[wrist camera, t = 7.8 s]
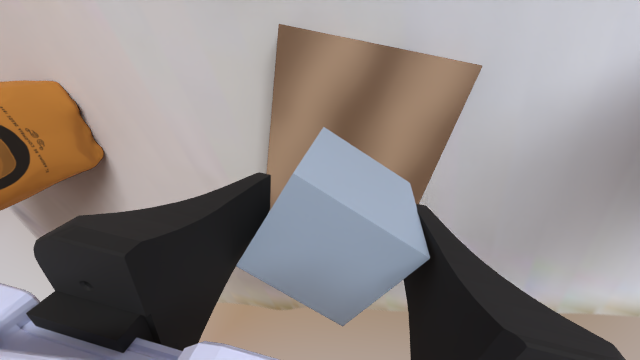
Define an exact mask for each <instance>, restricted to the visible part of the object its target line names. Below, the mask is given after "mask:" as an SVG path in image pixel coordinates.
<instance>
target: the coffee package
mask: <svg viewBox="0 0 640 360" xmlns="http://www.w3.org/2000/svg"><path fill="white" fill-rule="evenodd" d="M103 154H104V153H103V150H102V148H101V147H100V146H99V145H98V144H97V143H96V142H95V140H94V139H93V136H92V134H91V130H90V128H89V127H88V126H87V124H86V123H85V122H84V120H83V119H82V118H81V116H80V113H79V109H78V107H77V104H76V103H75V101H74V100H72V99H71V98H70V97H69V95H68V93H67V92H66V91H65V90H64V89H63V88H62V86H61V85H60V84H58V83H57V82H53V81H9V82H0V210H3V209H5V208H7V207H10V206H12V205H14V204H16V203H18V202H20V201H22V200H25V199H27V198H29V197H31V196H33V195H35V194H36V193H38V192H40V191H42V190H44V189H46V188H48V187H50V186H52V185H54V184H56V183H58V182H60V181H62V180H65V179H67V178H69V177H71V176H74V175H76V174H79V173H81V172H84V171H87V170H89V169H92V168H93V167H95V166H96V165H97V164H98V163H99V161H100V160H101V159H102V158H103Z"/></svg>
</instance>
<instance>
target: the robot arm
mask: <svg viewBox="0 0 640 360" xmlns="http://www.w3.org/2000/svg"><path fill="white" fill-rule="evenodd" d="M270 194H271V175H269V174H264V173H256V174H253V175H251V176H249V177H246V178H244V179H242V180H239V181H237V182H235V183H232V184H230V185H228V186H225V187H223V188H220V189H217V190H215V191H212V192H209V193H207V194H204V195H201V196H198V197H194V198H191V199H187V200H184V201H180V202H176V203H171V204H167V205H162V206H157V207H152V208H146V209H140V210H133V211H126V212H118V213H107V214H96V215H83V216H78V217H76V218H74V219H72V220H71V221H69V222H67V223H65V224H63V225H62V226H60V227H58V228H56V229H55V230H53V231H51V232H49V233H47V234H46V235H44V236H42V237H40V238H39V239H38V240H36V243H35V245H34V255H35V258H36V260H37V262H38V264H39V265H40V267H41V269H42V270H43V272H44V273H45V275H46V277H47V278H48V280H49V282H50V283H51V285H52V286H53V288H54V289H55V292H53V293H52V294H51V295H49V296H48V297H47V298H45V299H44V300H43V301H41V302H40V301H39V300H38V299H37V298H36V297H35V296H34V295H33V294H31V293H30V292H28V291H25V290H22V289H19V288H16V287H12V286H8V285H5V284H2V283H0V360H279V359H276V358H272V357H269V356H265V355H262V354H258V353H254V352H251V351H248V350H244V349H241V348H237V347H234V346H230V345H227V344H222V343H215V342H207V341H203V342H201V343H198V342H199V340H200V337H201V335H202V333H203V331H204V329H205V326H206V324H207V322H208V320H209V318H210V316H211V313H212V311H213V309H214V307H215V305H216V303H217V301H218V299H219V297H220V295H221V293H222V291H223V289H224V287H225V285H226V283H227V281H228V279H229V278H230V276H231V274H232V272H233V270H234V268H235V267H236V265H237V263H238V262H239V260H240V259H241V257H242V256H243V254H244V252H245V251H246V249H247V247H248V246H249V244H250V243H251V241H252V239H253V238H254V236H255V234H256V233H257V231H258V229H259V228H260V226H261V225H262V223H263V221H264V220H265V218H266V216H267V215H268V213H269V211H270ZM416 207H417V212H418V215H419V218H420V222H421V226H422V229H423V233H424V237H425V240H426V244H427V248H428V252H429V255H430V259H429V260H428V261H426V262H425V263H424V264H422V265H421V266H420V267H419V268H417V269H416V270H415V271H413V272H412V273H411V274H410V275H408V276H407V277H406V278H404V285H405V291H406V297H407V303H408V312H409V328H410V349H411V350H410V351H411V360H625V358H624V357H623V356H622V355H621V353H620V352H619V351H618V350H617V348H616V347H615V346H614V345H613V344H611V343H610V342H608V341H606V340H604V339H603V338H601V337H599V336H597V335H595V334H593V333H591V332H590V331H588V330H586V329H584V328H583V327H581V326H579V325H577V324H575V323H573V322H572V321H570V320H568V319H566V318H565V317H563V316H561V315H560V314H558V313H556V312H555V311H553V310H551V309H550V308H548V307H547V306H545V305H543V304H542V303H540V302H538V301H537V300H535V299H534V298H532V297H531V296H529V295H528V294H526V293H525V292H523V291H522V290H520V289H519V288H517V287H516V286H515V285H513V284H512V283H510V282H509V281H507V280H506V279H505V278H503V277H502V276H501V275H499V274H498V273H497V272H495V271H494V270H493V269H492V268H490V267H489V266H488V265H487V264H485V263H484V262H483V261H482V260H480V259H479V258H478V257H477V256H476V255H475V254H473V253H472V252H471V251H470V250H469V249H468V248H467V247H466V246H465V245H464V244H463V243H462V242H461V241H459V240H458V239H457V238H456V237H455V236H454V235H453V234H452V233H451V231H450V230H449V229H448V228H447V227H446V226H445V225H444V224H443V223H442V222H441V221H440V220H439V219H438V218H437V217H436V216H435V215H434V213H433V212H432V211H431V210H430V209H429V208H428V207H427V206H424V205H419V204H416Z"/></svg>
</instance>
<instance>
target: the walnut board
mask: <svg viewBox="0 0 640 360" xmlns="http://www.w3.org/2000/svg"><path fill="white" fill-rule="evenodd" d="M481 68H482V65H477V64H472V63H467V62H462V61H457V60H452V59H447V58H442V57H438V56H433V55H428V54H423V53H418V52H413V51H408V50H403V49H399V48H394V47H389V46H384V45H379V44H374V43H369V42H364V41H360V40H355V39H350V38H345V37H340V36H335V35H330V34H325V33H320V32H316V31H311V30H306V29H301V28H296V27H291V26H286V25H281V24H279V28H278V40H277V53H276V65H275V77H274V89H273V102H272V114H271V126H270V139H269V151H268V163H267V174H269V175H271V194H270V210H271V208H272V207H273V205H274V203H275V202H276V200H277V199H278V197H279V195H280V194H281V192H282V190H283V189H284V187H285V186H286V184H287V182H288V181H289V179H290V177H291V176H292V174H293V173H294V171H295V169H296V168H297V166H298V165H299V163H300V162H301V160H302V159H303V157H304V156H305V154H306V153H307V151H308V150H309V148H310V147H311V145H312V144H313V142H314V141H315V139H316V138H317V136H318V135H319V133H320V132H321V130H322V129H323V127H325V128H326V129H328V130H329V131H331V132H332V133H334V134H336V135H337V136H339V137H340V138H342V139H343V140H345V141H346V142H348V143H349V144H351V145H352V146H354V147H356V148H357V149H359V150H360V151H362V152H363V153H365V154H366V155H368V156H369V157H371V158H372V159H374V160H376V161H377V162H379V163H380V164H382V165H383V166H385V167H386V168H388V169H389V170H391V171H392V172H394V173H396V174H397V175H399V176H400V177H402V178H403V179H405V180H406V181H408V182H409V183H410V185H411V188H412V192H413V196H414V199H415V203H416V204H419V202H420V200H421V198H422V195H423V193H424V191H425V189H426V187H427V185H428V183H429V180H430V178H431V176H432V174H433V172H434V170H435V167H436V165H437V163H438V161H439V159H440V157H441V154H442V152H443V150H444V148H445V146H446V144H447V141H448V139H449V137H450V135H451V133H452V131H453V129H454V126H455V124H456V122H457V120H458V118H459V116H460V113H461V111H462V109H463V107H464V105H465V103H466V100H467V98H468V96H469V94H470V92H471V90H472V87H473V85H474V83H475V81H476V79H477V77H478V75H479V72H480V70H481Z"/></svg>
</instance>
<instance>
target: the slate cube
mask: <svg viewBox="0 0 640 360" xmlns="http://www.w3.org/2000/svg"><path fill="white" fill-rule="evenodd" d="M429 259H430V255H429V252H428V248H427V244H426V240H425V237H424V233H423V229H422V226H421V222H420V218H419V215H418V212H417V207H416V203H415V199H414V196H413V192H412V188H411V185H410V183H409V182H408V181H406V180H405V179H403V178H402V177H400V176H399V175H397V174H396V173H394V172H392V171H391V170H389V169H388V168H386V167H385V166H383V165H382V164H380V163H379V162H377V161H376V160H374V159H372V158H371V157H369V156H368V155H366V154H365V153H363V152H362V151H360V150H359V149H357V148H356V147H354V146H352V145H351V144H349V143H348V142H346V141H345V140H343V139H342V138H340V137H339V136H337V135H336V134H334V133H332V132H331V131H329V130H328V129H326V128H325V127H323V129H322V130H321V132H320V133H319V135H318V136H317V138H316V139H315V141H314V142H313V144H312V145H311V147H310V148H309V150H308V151H307V153H306V154H305V156H304V157H303V159H302V160H301V162H300V163H299V165H298V166H297V168H296V169H295V171H294V173H293V174H292V176H291V177H290V179H289V181H288V182H287V184H286V186H285V187H284V189H283V190H282V192H281V194H280V195H279V197H278V199H277V200H276V202H275V203H274V205H273V207H272V208H271V210H270V212H269V213H268V215H267V216H266V218H265V220H264V221H263V223H262V225H261V226H260V228H259V229H258V231H257V233H256V234H255V236H254V238H253V239H252V241H251V243H250V244H249V246H248V247H247V249H246V251H245V252H244V254H243V256H242V257H241V259H240V260H239V262H238V264H237V265H236V266H237V267H239V268H240V269H242V270H244V271H246V272H247V273H249V274H251V275H253V276H254V277H256V278H258V279H260V280H261V281H263V282H265V283H267V284H269V285H270V286H272V287H274V288H276V289H277V290H279V291H281V292H283V293H284V294H286V295H288V296H290V297H292V298H293V299H295V300H297V301H299V302H300V303H302V304H304V305H306V306H307V307H309V308H311V309H313V310H315V311H316V312H318V313H320V314H322V315H323V316H325V317H327V318H329V319H330V320H332V321H334V322H336V323H338V324H339V325H341V326H344V325H345V324H346V323H348V322H349V321H350V320H352V319H353V318H354V317H355V316H357V315H358V314H359V313H361V312H362V311H363V310H364V309H366V308H367V307H368V306H370V305H371V304H372V303H373V302H375V301H376V300H377V299H379V298H380V297H381V296H383V295H384V294H385V293H386V292H388V291H389V290H390V289H392V288H393V287H394V286H395V285H397V284H398V283H399V282H401V281H402V280H403V279H404V278H406V277H407V276H408V275H410V274H411V273H412V272H413V271H415V270H416V269H417V268H419V267H420V266H421V265H422V264H424V263H425V262H426V261H428V260H429Z"/></svg>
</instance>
